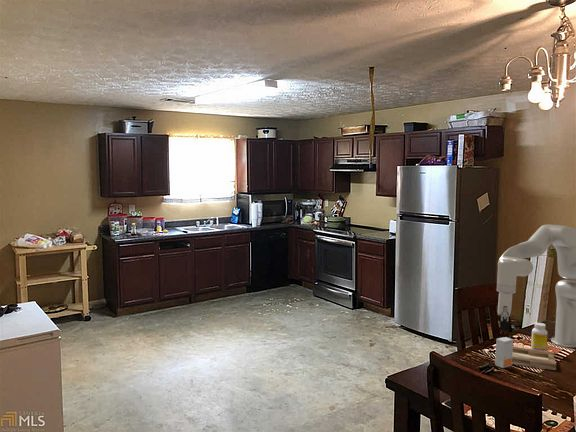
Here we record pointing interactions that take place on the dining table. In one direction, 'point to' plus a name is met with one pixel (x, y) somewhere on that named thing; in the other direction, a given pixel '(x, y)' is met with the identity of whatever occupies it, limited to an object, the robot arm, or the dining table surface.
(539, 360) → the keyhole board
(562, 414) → the dining table surface
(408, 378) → the dining table surface
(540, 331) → the supplement bottle
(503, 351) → the skincare box
